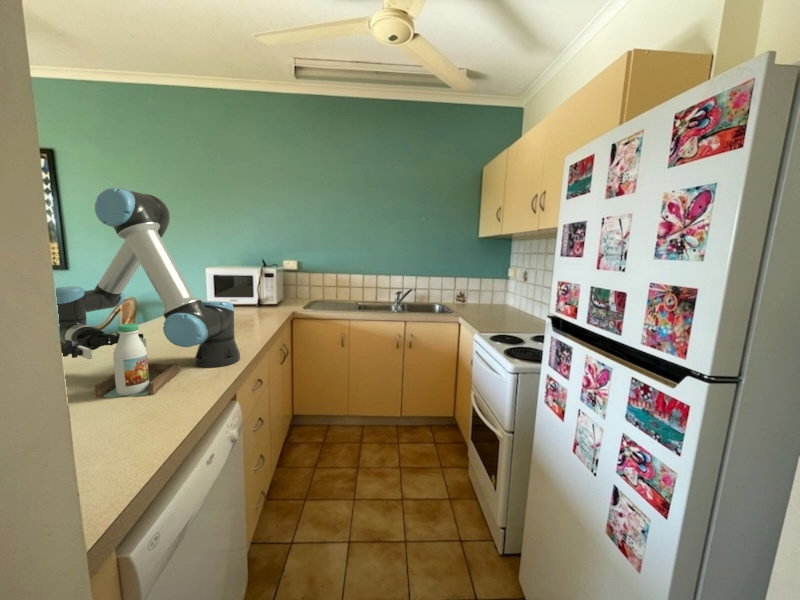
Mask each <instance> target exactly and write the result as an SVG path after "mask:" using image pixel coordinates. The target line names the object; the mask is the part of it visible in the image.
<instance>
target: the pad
mask: <svg viewBox="0 0 800 600" xmlns="http://www.w3.org/2000/svg"><path fill="white" fill-rule="evenodd" d="M147 394H148V395H149V390H148V389H147V390H145V391H143V392H141V393H137V394H132V395H119V394H117V392H116V388H114V389H113V390H111V391H110V392H108V393H107V394H105V395H104V396H102V398H110V397H111V398H112V397H115V398H116V397H132V396H133V395H137V396H148V395H147Z"/></svg>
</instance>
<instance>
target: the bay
mask: <svg viewBox="0 0 800 600" xmlns="http://www.w3.org/2000/svg"><path fill="white" fill-rule="evenodd" d="M179 372H180V373H181V363H180V362H178V361H177V362H151V363H150V362H148V374H149V375H157V376H156V377H155V378H153V379H152V380H151V381H149V383H148V390H149V394H148V395H149V396H154V395H155V394H156V393H157V391H158V390H159V389H160V388H161V387H162V388H163V387H164V385H165V384H166V383H167V382H168V383H170V382H171V381H172V380H173V379H174V378H175V377H176V376H178V375H179V374H180V373H179ZM178 373H179V374H178ZM177 374H178V375H177ZM172 378H173V379H172ZM171 379H172V380H171ZM170 380H171V381H170ZM168 383H167V384H168ZM167 384H166V385H167ZM166 385H165V386H166ZM115 387H116V384H115V373H114V374H111V375H110V376H108V377H107V378H105V379H103V380H102V381H101V382H98V383H97V384H95V385H94V392H95V398H103V396H104V395H106V394H107V393H109V392H110V391H112V389H115ZM162 388H161V389H162ZM161 389H160V390H161ZM160 390H159V391H160ZM159 391H158V392H159Z"/></svg>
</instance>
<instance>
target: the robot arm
mask: <svg viewBox="0 0 800 600" xmlns="http://www.w3.org/2000/svg"><path fill="white" fill-rule="evenodd" d="M94 212H95V215H96V217H97V219H98V220H99V221H100V222H101V223H103V224H104V225H106V226H107V227H112V228H113V229H114V232H115V233H116V235H117V236H118V238H119V239H123V240H124V241H123V243H122V245H121V246H120V248H119V249H118V251H117V253H116V254H115V256H114V257H113V259H112V260H111V262H110V264H109V266H108V267H107V268H106V270H105V272H104V273H103V275H102V277H101V278H100V280H99V281H98V283H97V284H96V286H95V288H94V289H90V290H85V289H84V288H83V287H81V286H60V287H56V297H57V305H58V314H59V324H60V334H61V342H62V343H61V342H60V343H61V344H63V345H62V347H61V348H62V349H61V354H62V353H63V356H62V357H64V358H65V357H68V356H69V355H71V358H72V359H75V358H78V357H79V356H80V357H82V358H84V359H87V360H92V359H93V353H92V351H95V350H97V349H99V348H100V347H104V346H113V345H115V344H116V345H117V343H118V341H119V337H120V334H119V333H118V332H119V331H116V332H114V333H108V334H107V333H105V332H104V331H103V330H102V329H100V328H98V327H94V326H90V325H88V323H87V322H88V321H87V313H90V312H95V311H100V310H107V309H109V310H110V309H113V308H115V307H119V306H121V305H122V304H123V303H124V302H125V294H124V292H123V291H125V288H126V287H127V285H128V284H129V282H130V281H131V279H132V278H133V276H134V274H135V273H136V272H137V270H138V268H139V267H140V265H141V267H142V269H143V271H144V272H145V274H146V276H147V278H148V279H149V282H150V283H151V284H152V286H153V288H154V289H155V292H156V293H157V296H158V297H159V299H160V301H161V302H162V304H163V306H164V311H163V312H162V316H163V317H164V319H165V320H164V322H163V327H162V329H163V330H162V331H163V334H164V336H165V338H166V339H167V340H168V341H169V342H170V343H172V344H173V345H174V346H177V347H181V348H190V347H194V346H197V350H196V353H195V357H194V363H195V365H196V366H199V367H202V368H216V367H219V368H220V367H225V366H229V365H232V364H235V363H237V362H239V361H240V360H241V352H240V350H239V348H238V345H237V342H236V340H235V338H236V337H235V310H234V304H233V303H232V302H230V301H220V300H219V301H216V300H215V301H214V300H213V301H212V300H211V301H210V300H206V301H205V300H202V299H200V298H198V297H195V296H193V295H194V294H192V292H191V290H190V288H189V287H188V285H187V283H186V280H185V279H184V277H183V276H182V274H181V272H180V270H179V268H178V266H177V264H176V263H175V261H174V259H173V257H172V256H171V253H170V252H169V250H168V249H167V246H166V245H165V243H164V241H163V239H162V237H163V236H164V235H165V233H166V231H167V229H168V227H169V225H170V224H169V223H170V217H171V216H170V211H169V208H168V206H167V205H166V203H165V202H164V201H163V200H162V199H160V198H159V197H157V196H155V195H152V194H148V193H143V192H139V191H134V190H133V191H131V190H129V189H127V188H117V187H110V188H106V189H104V190H103V191H101V192H100V193H99V194H98V195H97V197H96V201H95V202H94ZM138 336H139V338H140V340H141V341H142V343H143V344H144V346H145V348H147V339H146V338H145V337H144V334H143V333H138Z"/></svg>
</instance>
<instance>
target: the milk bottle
mask: <svg viewBox="0 0 800 600" xmlns="http://www.w3.org/2000/svg"><path fill="white" fill-rule="evenodd" d="M139 329H140V328H139V324H138V323H123V324H119V325H117V332H118V333H119V334H120V337H119V341H118V343H117V344H116V345H115V348H114V351H113V369H114V374H115V384H116V392H117V394H119V395H132V394H137V393H141V392H143V391H145V390H147V389H148V383H150V378H149V377H150V374H148V363H149V361H148V353H147V349H146V348H147V347H145V346H144V344H143V343H142V341H141V340H140V338H139V336H138V334H139Z"/></svg>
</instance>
